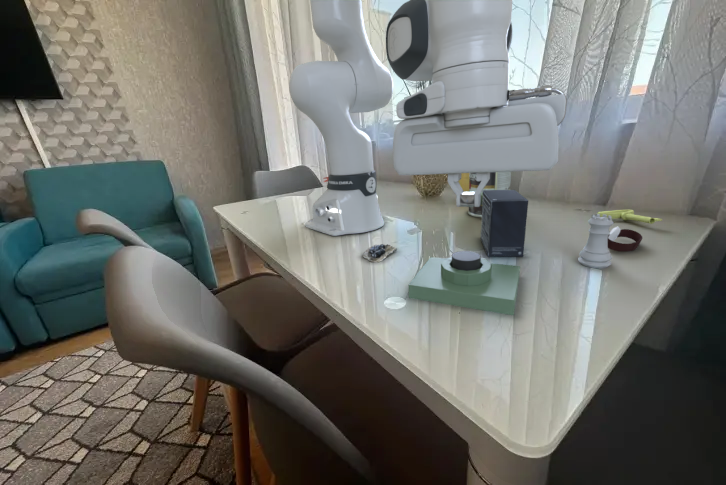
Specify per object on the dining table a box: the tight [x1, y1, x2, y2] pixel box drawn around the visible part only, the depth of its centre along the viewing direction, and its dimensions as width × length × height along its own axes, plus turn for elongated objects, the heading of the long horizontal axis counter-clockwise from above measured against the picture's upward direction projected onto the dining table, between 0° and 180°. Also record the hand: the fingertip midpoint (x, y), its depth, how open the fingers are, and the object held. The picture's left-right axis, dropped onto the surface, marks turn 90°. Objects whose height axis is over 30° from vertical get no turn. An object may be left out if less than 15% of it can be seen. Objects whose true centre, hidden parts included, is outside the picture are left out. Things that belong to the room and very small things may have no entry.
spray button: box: [451, 250, 482, 271], centre depth 47 cm, size 4×4×2 cm
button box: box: [408, 256, 521, 316], centre depth 48 cm, size 14×11×4 cm
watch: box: [608, 226, 643, 252], centre depth 57 cm, size 8×5×4 cm, turn 118°
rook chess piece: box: [577, 213, 615, 269], centre depth 51 cm, size 4×4×8 cm
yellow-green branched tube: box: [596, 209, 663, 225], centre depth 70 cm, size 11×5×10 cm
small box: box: [480, 189, 529, 258], centre depth 61 cm, size 11×6×10 cm, turn 168°
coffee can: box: [467, 172, 512, 219], centre depth 84 cm, size 10×10×14 cm
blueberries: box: [362, 243, 398, 263], centre depth 64 cm, size 7×8×2 cm
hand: (468, 206), depth 44 cm, fingers closed
